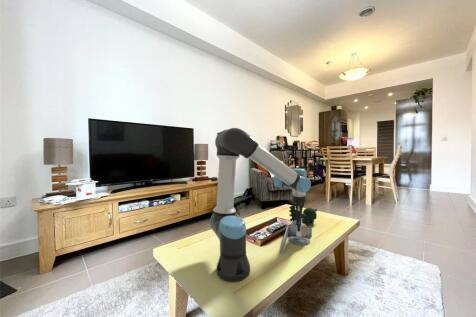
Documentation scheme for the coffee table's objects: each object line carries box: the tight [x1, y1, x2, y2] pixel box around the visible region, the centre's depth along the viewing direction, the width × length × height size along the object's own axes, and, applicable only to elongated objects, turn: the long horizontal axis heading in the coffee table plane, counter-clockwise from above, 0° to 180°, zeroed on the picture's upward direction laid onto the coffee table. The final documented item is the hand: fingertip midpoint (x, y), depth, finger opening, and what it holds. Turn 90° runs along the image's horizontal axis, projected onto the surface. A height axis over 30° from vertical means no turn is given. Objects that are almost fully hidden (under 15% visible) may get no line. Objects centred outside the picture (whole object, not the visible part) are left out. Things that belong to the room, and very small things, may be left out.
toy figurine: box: [288, 202, 318, 226], centre depth 145 cm, size 9×19×25 cm
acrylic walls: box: [281, 225, 313, 255], centre depth 115 cm, size 26×15×5 cm, turn 161°
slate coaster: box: [288, 235, 311, 246], centre depth 120 cm, size 12×12×1 cm
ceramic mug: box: [290, 220, 310, 237], centre depth 120 cm, size 11×8×8 cm
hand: (299, 232), depth 120 cm, fingers closed on ceramic mug, 11 cm apart
